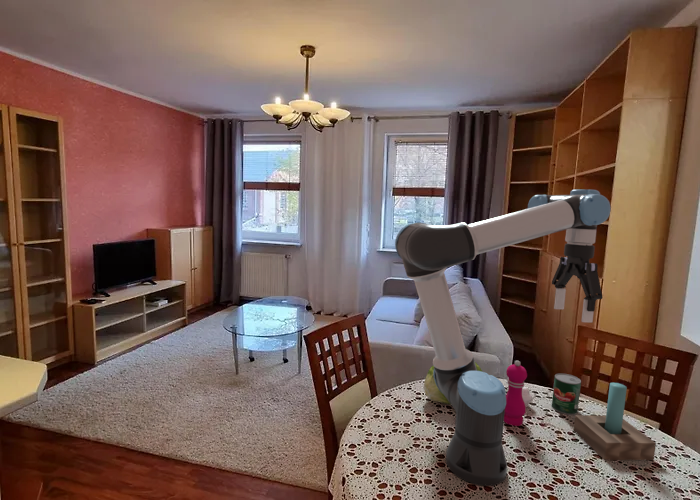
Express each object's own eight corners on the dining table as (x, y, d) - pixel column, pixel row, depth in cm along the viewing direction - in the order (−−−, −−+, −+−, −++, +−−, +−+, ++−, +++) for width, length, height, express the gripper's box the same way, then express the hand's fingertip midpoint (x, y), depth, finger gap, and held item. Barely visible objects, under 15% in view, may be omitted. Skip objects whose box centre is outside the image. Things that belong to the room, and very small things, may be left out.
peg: (609, 448, 112) (616, 388, 110) (599, 440, 116) (606, 382, 114) (622, 448, 113) (630, 389, 110) (612, 440, 117) (619, 382, 114)
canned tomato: (553, 411, 132) (556, 380, 131) (550, 401, 139) (553, 371, 138) (579, 417, 129) (583, 385, 128) (575, 406, 136) (578, 375, 135)
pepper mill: (526, 428, 121) (533, 366, 119) (502, 425, 122) (507, 363, 120) (521, 416, 128) (527, 357, 126) (498, 413, 129) (503, 355, 127)
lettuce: (418, 397, 143) (411, 363, 138) (468, 376, 148) (463, 342, 143) (440, 427, 129) (433, 391, 123) (495, 403, 133) (490, 366, 128)
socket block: (604, 459, 107) (606, 442, 107) (573, 430, 121) (575, 415, 120) (653, 460, 108) (656, 443, 107) (617, 431, 122) (619, 415, 121)
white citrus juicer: (514, 399, 140) (516, 380, 139) (533, 404, 136) (534, 385, 135) (510, 405, 135) (511, 386, 134) (529, 411, 131) (531, 391, 130)
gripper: (624, 249, 101) (614, 328, 103) (566, 240, 126) (560, 304, 128) (596, 247, 101) (586, 328, 103) (544, 239, 125) (537, 304, 128)
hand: (572, 315), depth 116 cm, fingers open, 13 cm apart
